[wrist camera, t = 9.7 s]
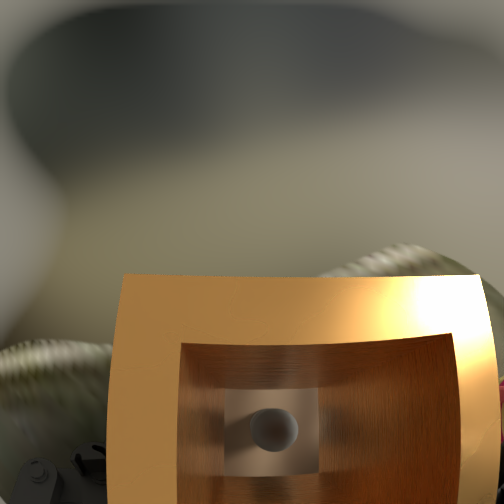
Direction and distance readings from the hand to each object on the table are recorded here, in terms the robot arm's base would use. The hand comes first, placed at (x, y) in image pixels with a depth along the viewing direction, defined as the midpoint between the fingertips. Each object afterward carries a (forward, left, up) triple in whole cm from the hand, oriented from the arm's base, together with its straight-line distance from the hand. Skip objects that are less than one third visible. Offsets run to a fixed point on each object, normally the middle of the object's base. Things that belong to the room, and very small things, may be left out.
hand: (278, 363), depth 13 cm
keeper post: (+2, +3, -16) cm, 16 cm away
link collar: (0, +3, -4) cm, 5 cm away
